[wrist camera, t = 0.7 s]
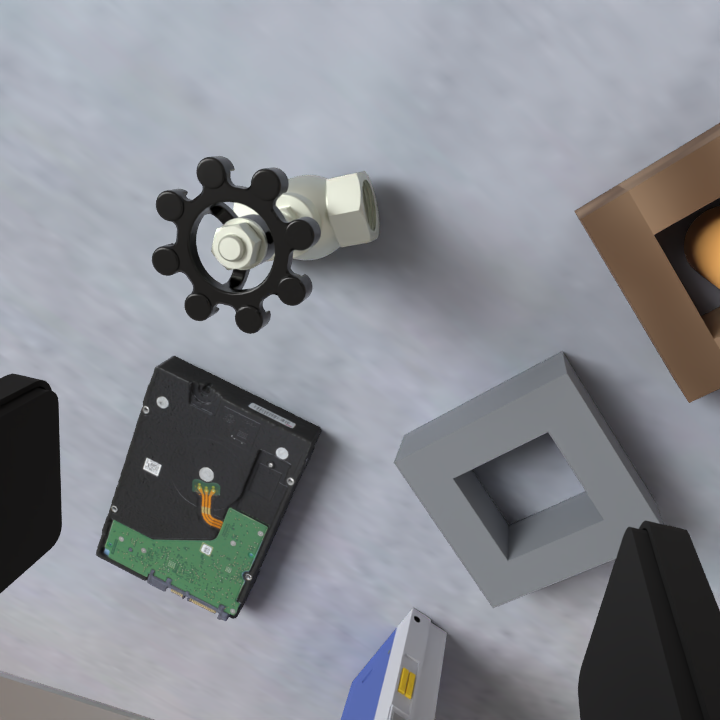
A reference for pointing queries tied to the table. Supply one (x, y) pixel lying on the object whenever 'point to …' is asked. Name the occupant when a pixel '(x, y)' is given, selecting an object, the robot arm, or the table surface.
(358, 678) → the walkman
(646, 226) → the block
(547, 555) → the socket block
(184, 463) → the disk drive
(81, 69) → the table surface
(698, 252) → the pin
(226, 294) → the valve
